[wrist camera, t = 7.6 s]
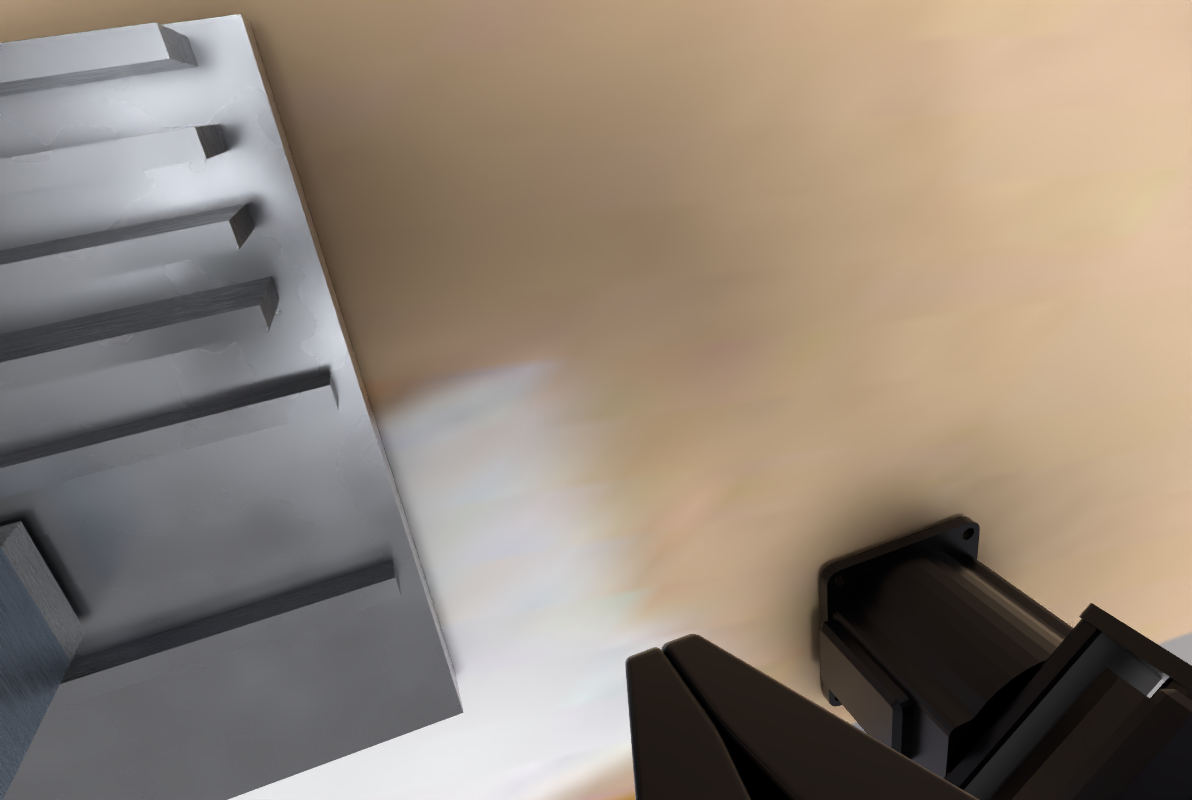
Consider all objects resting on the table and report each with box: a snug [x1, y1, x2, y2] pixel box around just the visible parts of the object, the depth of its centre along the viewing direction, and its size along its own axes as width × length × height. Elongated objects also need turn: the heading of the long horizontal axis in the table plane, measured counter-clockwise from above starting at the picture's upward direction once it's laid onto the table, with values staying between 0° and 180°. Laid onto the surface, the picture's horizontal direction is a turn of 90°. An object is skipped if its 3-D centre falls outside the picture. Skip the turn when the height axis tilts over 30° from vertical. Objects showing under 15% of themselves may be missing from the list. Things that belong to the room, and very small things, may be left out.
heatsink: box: [0, 14, 463, 800], centre depth 15 cm, size 12×18×5 cm, turn 9°
